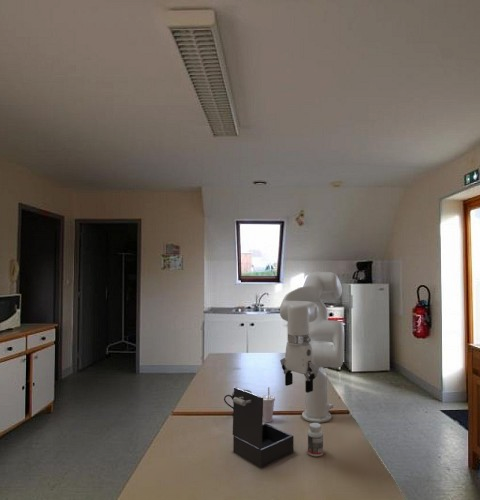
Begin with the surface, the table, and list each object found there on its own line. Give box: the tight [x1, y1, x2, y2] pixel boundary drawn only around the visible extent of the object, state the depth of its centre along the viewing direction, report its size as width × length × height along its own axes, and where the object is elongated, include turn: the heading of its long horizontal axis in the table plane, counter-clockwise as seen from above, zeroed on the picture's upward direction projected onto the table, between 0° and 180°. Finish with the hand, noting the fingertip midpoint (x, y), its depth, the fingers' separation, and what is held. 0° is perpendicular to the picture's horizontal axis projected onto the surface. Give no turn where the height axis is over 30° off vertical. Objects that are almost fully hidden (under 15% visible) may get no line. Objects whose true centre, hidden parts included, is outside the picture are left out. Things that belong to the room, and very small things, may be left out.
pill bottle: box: [307, 422, 324, 457], centre depth 134 cm, size 5×5×10 cm
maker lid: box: [232, 386, 264, 449], centre depth 129 cm, size 16×15×5 cm
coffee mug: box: [223, 388, 253, 409], centre depth 169 cm, size 12×9×10 cm
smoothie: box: [260, 386, 276, 423], centre depth 163 cm, size 6×6×14 cm
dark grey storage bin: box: [232, 422, 295, 469], centre depth 135 cm, size 16×15×6 cm
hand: (298, 388), depth 134 cm, fingers open, 9 cm apart
